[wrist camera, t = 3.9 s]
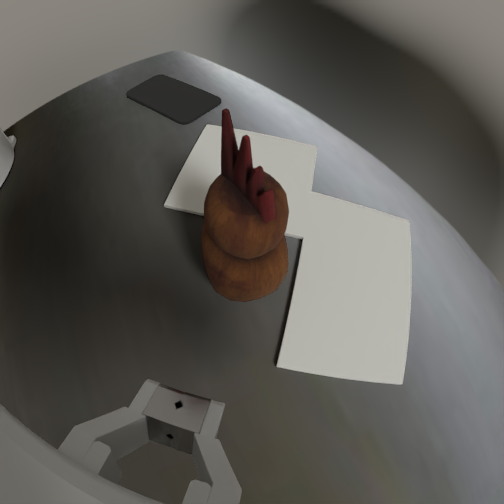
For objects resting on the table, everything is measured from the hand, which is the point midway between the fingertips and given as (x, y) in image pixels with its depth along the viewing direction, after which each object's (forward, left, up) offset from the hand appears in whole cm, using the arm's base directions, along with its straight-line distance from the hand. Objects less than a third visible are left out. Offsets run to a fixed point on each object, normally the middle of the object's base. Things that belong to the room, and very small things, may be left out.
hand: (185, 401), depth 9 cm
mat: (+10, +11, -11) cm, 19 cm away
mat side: (-2, +21, -11) cm, 24 cm away
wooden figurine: (0, +10, -12) cm, 15 cm away
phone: (-17, +33, -12) cm, 39 cm away
